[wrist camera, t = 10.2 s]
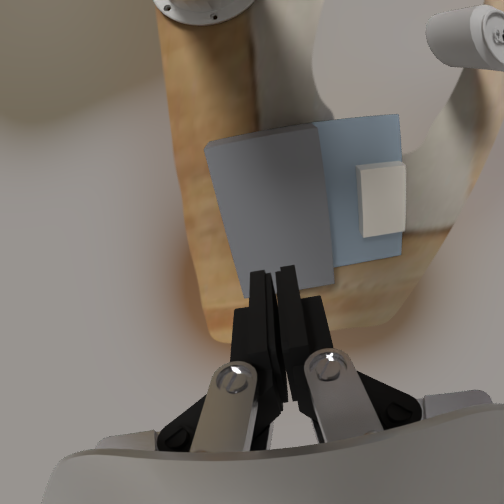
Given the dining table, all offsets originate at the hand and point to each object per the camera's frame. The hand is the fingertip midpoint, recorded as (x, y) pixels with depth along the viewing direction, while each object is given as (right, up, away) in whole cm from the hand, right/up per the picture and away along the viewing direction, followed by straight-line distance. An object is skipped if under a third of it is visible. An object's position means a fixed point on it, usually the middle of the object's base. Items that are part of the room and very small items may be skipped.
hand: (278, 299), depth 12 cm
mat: (+13, +9, +26) cm, 31 cm away
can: (+23, +29, +15) cm, 40 cm away
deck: (+2, +7, +27) cm, 28 cm away
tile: (+15, +8, +24) cm, 29 cm away
